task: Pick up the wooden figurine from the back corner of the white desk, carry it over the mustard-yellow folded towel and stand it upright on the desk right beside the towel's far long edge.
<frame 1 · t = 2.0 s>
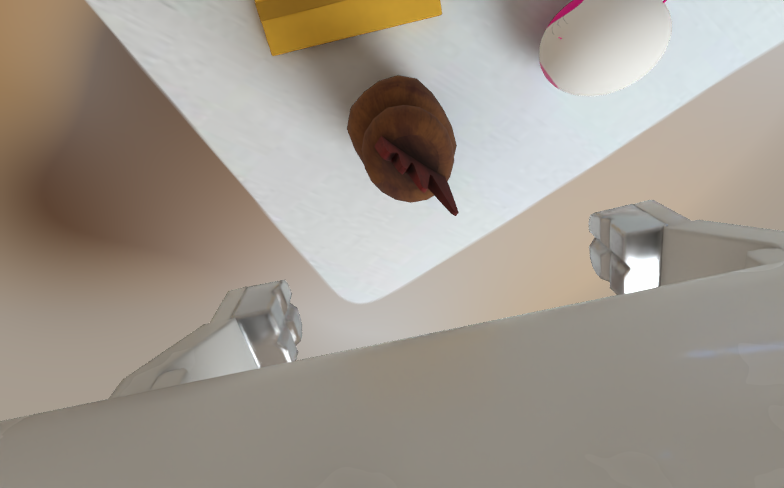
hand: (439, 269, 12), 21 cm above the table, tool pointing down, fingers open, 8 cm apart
wooden figurine: (398, 121, 31), on the table
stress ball: (579, 32, 29), on the table
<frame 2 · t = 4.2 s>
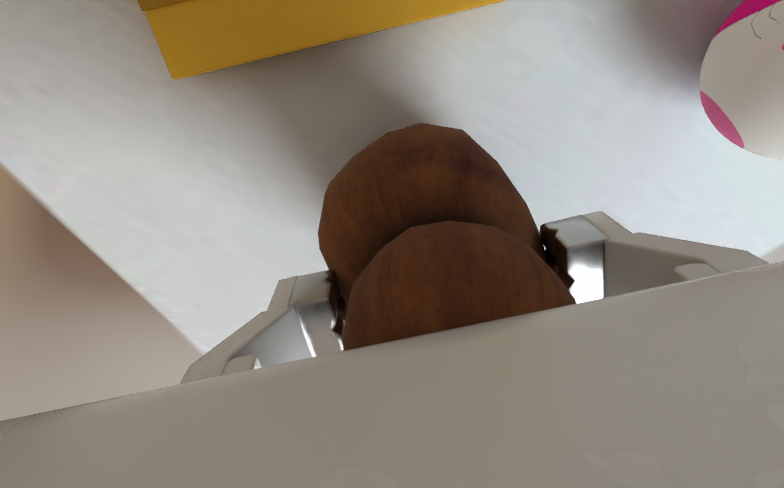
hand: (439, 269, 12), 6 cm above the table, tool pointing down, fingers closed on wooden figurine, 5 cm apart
wooden figurine: (417, 194, 17), on the table, touching gripper
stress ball: (760, 35, 15), on the table
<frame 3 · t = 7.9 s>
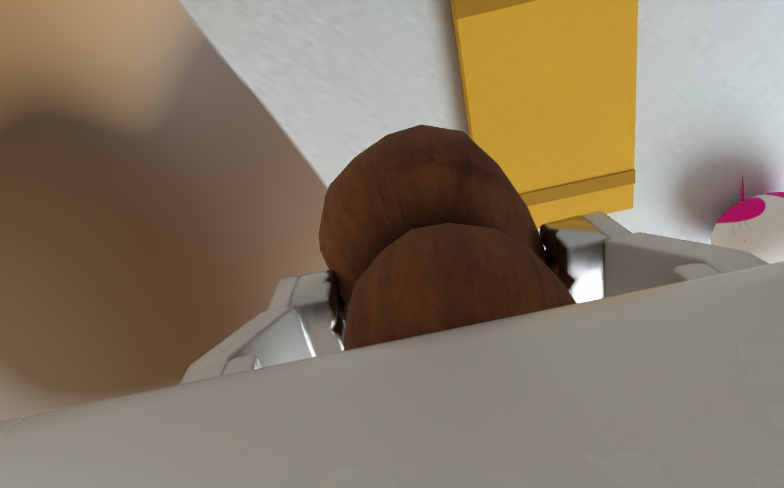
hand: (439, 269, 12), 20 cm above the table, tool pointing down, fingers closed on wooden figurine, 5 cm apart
wooden figurine: (417, 195, 17), point 14 cm above the table, touching gripper
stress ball: (738, 212, 34), on the table
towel: (545, 98, 30), on the table
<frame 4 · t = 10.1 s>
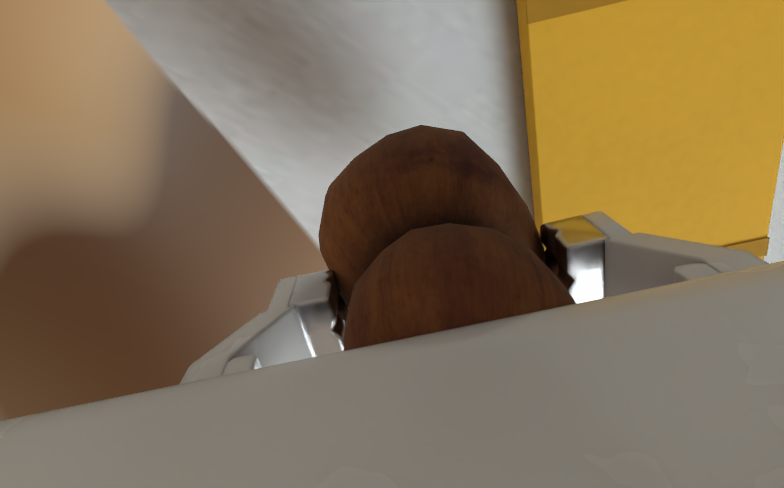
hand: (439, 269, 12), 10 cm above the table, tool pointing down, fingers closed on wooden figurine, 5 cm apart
wooden figurine: (417, 195, 17), point 4 cm above the table, touching gripper
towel: (646, 137, 20), on the table
when the fingers open (6 cm above the table, at t = 11.7 s): wooden figurine stays where it is, on the table.
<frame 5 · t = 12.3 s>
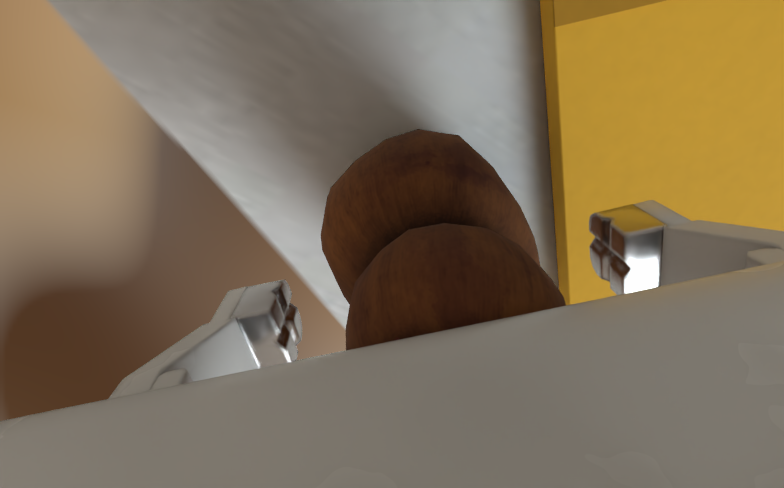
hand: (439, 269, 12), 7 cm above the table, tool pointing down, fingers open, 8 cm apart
wooden figurine: (416, 197, 18), on the table
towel: (687, 158, 18), on the table
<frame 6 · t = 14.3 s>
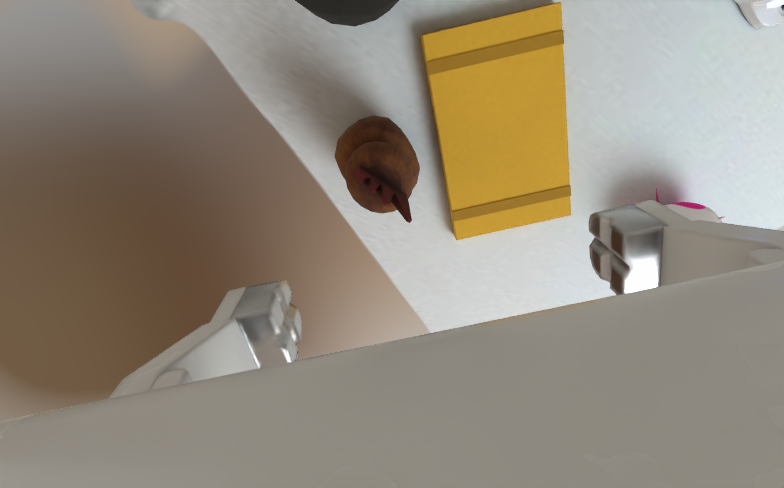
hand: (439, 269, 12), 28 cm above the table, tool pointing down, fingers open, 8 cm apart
wooden figurine: (376, 149, 39), on the table
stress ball: (656, 218, 43), on the table
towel: (499, 131, 39), on the table
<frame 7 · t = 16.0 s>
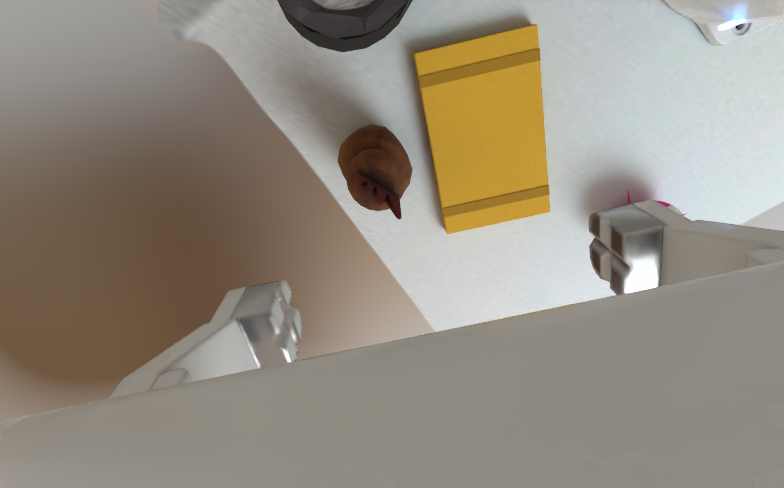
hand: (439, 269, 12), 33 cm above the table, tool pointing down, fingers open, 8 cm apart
wooden figurine: (375, 152, 44), on the table
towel: (484, 136, 43), on the table
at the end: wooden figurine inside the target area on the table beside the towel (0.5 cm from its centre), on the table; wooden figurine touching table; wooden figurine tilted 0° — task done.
